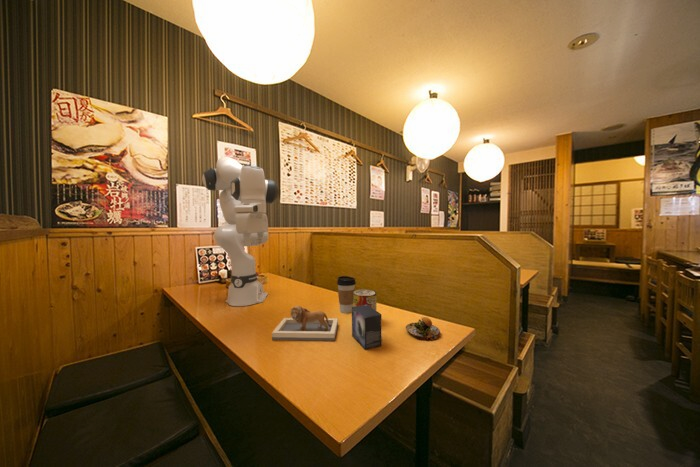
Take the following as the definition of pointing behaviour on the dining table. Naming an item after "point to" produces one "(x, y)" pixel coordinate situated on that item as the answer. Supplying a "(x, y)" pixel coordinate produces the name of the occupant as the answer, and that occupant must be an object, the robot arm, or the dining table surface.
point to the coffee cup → (346, 293)
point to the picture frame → (293, 330)
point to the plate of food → (424, 329)
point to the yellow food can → (364, 298)
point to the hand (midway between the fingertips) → (254, 245)
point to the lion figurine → (309, 317)
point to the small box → (366, 326)
